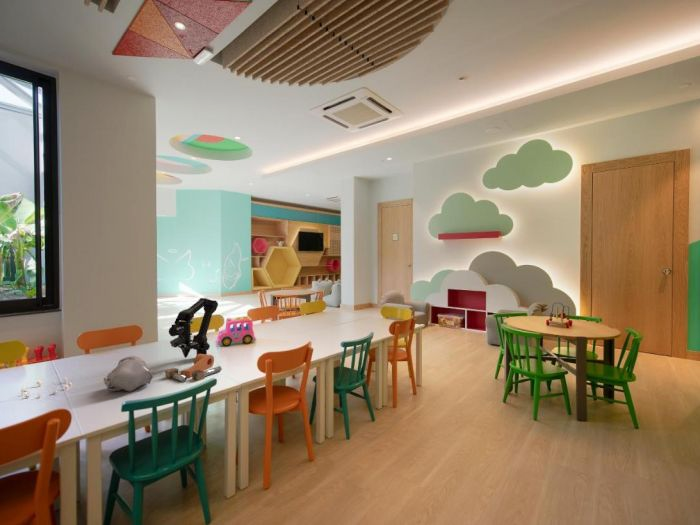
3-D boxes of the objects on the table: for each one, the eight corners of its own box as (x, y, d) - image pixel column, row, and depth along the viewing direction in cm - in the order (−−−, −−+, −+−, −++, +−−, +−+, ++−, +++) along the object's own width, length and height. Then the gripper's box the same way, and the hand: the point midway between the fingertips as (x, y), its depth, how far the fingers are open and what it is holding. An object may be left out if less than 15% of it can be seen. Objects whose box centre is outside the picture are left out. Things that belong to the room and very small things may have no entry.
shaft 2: (197, 381, 177) (197, 373, 177) (192, 379, 179) (191, 372, 179) (222, 371, 190) (222, 365, 190) (217, 370, 193) (217, 363, 193)
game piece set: (19, 390, 163) (19, 383, 163) (71, 379, 177) (71, 372, 177) (18, 404, 150) (18, 396, 149) (75, 391, 164) (74, 383, 163)
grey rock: (104, 402, 154) (106, 373, 152) (101, 383, 167) (103, 356, 165) (152, 393, 168) (155, 366, 165) (147, 376, 180) (149, 351, 178)
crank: (203, 364, 202) (203, 352, 202) (214, 366, 200) (214, 353, 200) (178, 376, 183) (178, 362, 183) (189, 378, 181) (189, 364, 181)
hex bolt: (165, 377, 181) (165, 370, 181) (174, 374, 185) (174, 367, 185) (179, 383, 173) (179, 376, 173) (188, 380, 178) (188, 373, 178)
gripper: (163, 332, 195) (163, 358, 196) (181, 337, 185) (181, 364, 186) (181, 328, 205) (181, 353, 206) (199, 333, 195) (199, 358, 196)
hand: (185, 357), depth 198 cm, fingers closed
